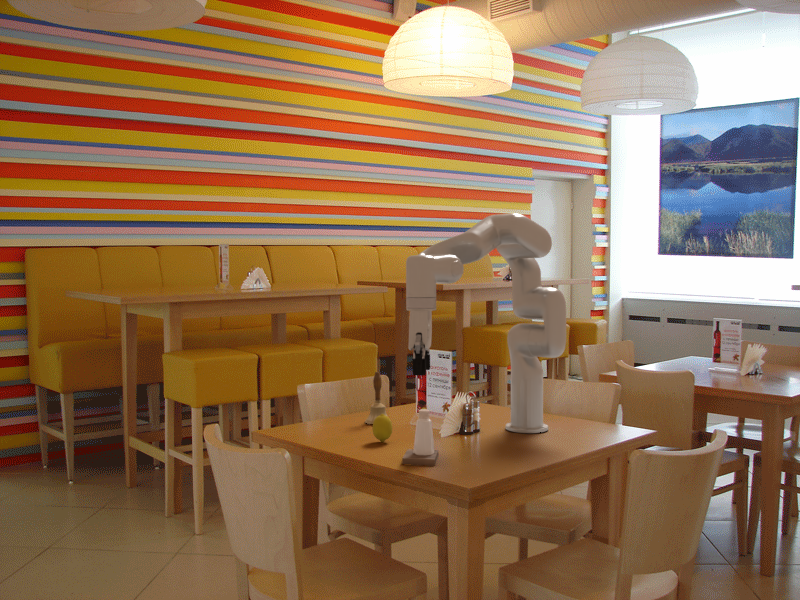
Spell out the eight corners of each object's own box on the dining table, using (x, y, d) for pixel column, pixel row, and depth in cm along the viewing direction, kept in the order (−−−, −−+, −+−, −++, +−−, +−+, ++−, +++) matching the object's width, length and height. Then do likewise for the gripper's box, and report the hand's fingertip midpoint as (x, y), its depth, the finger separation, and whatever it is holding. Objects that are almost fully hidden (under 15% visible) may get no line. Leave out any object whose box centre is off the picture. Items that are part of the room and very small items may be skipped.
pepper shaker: (408, 453, 194) (409, 409, 193) (423, 449, 197) (424, 407, 197) (424, 456, 190) (424, 412, 189) (439, 453, 193) (439, 410, 193)
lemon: (385, 445, 209) (385, 416, 208) (368, 443, 212) (368, 414, 211) (396, 441, 213) (396, 413, 213) (379, 439, 216) (379, 411, 216)
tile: (407, 449, 198) (402, 458, 188) (438, 450, 197) (434, 459, 187) (407, 456, 198) (402, 465, 188) (438, 457, 197) (434, 466, 187)
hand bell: (391, 425, 236) (390, 373, 235) (364, 425, 236) (363, 373, 235) (391, 419, 244) (391, 370, 244) (365, 419, 244) (365, 370, 244)
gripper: (410, 302, 201) (411, 367, 202) (401, 306, 184) (402, 377, 184) (439, 302, 200) (439, 368, 200) (432, 306, 183) (433, 377, 183)
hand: (421, 372), depth 192 cm, fingers open, 9 cm apart
